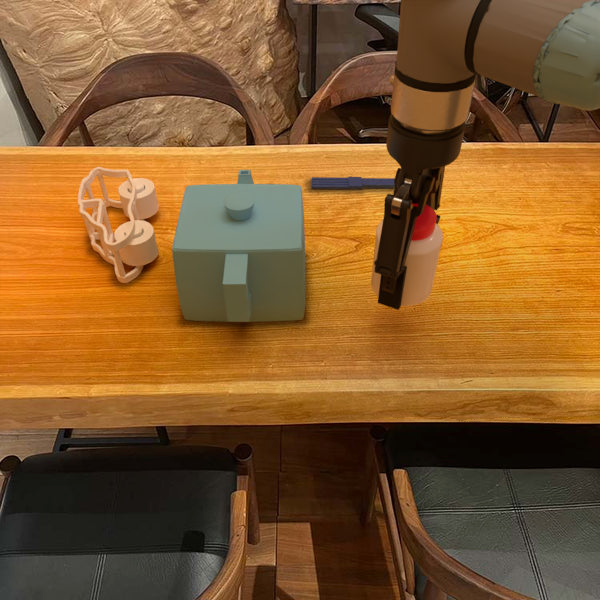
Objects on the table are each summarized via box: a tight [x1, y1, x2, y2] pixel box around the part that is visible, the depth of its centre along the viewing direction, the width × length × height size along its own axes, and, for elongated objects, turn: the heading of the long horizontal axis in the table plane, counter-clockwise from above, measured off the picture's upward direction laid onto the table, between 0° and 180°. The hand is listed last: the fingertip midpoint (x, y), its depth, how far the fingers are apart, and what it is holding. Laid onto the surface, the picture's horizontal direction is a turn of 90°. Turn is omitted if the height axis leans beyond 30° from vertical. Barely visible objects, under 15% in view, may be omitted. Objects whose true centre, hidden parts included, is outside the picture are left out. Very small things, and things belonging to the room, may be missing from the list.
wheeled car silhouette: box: [77, 166, 160, 284], centre depth 90 cm, size 20×11×7 cm, turn 9°
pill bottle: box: [370, 203, 444, 307], centre depth 70 cm, size 8×8×11 cm
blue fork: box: [310, 176, 395, 191], centre depth 102 cm, size 21×3×1 cm, turn 89°
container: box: [171, 169, 307, 323], centre depth 80 cm, size 17×25×15 cm
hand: (401, 282), depth 74 cm, fingers closed on pill bottle, 8 cm apart
